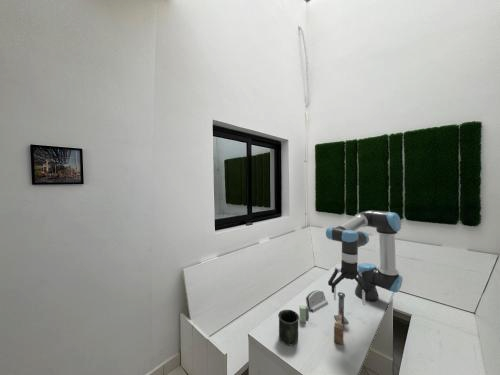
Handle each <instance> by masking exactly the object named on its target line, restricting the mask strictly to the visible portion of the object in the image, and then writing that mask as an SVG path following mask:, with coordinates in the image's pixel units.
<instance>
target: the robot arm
mask: <svg viewBox="0 0 500 375" xmlns="http://www.w3.org/2000/svg"><path fill="white" fill-rule="evenodd" d="M366 227H370V228H375V229H376V232H377V233H378V235H379V236H378V237H379V238H378V240H379V262H380V265H379V267H378V268H377V265H375V264H374V263H367V262H363V263H358V261H359V259H358V256H359V255H358V254H359V252H358V251H359V248H360V247H364V246H366V245H367V244H368V243H369V241H370V237H369V235H368V234H367V233H366V232H365V231H361V230H359V229H361V228H366ZM401 229H402V221H401V217H400V215H399V214H398V213H397V212H393V211H392V212H391V211H383V210H373V209H371V210H365V211H361V212H359V213H357V214H355V215H354V216H353V217H352V218H351V219H348V220H347V221H345V222H343V223H341V224H340V225H337V226H336V227H333V226H329V227H327V228H326V230H325V236H326V238H327V239H328V240H330V241H331V240H332V241H335V242H339V243H341V266H340V267H341V268H338V267H334V272H332V275H331V276H330V277H329V280H328V281H327V283H328V286H330V287H331V294H332V293H333V300H334V301H337V298H336V297H337V296H336V295H337V291H336V290H337V288H336V286H337V285H338V284H339V283H340V282H341V281H343V280H344V279H346V280H351V281H353V280H355V281H356V283H357V284H356V286H355V288H354V294H355V296H356V297H358V298H359V299H361V304H362V305H363V306H366V302H377V301H379V292H378V290H377V287H378V288H382V289H384V290H387V291H389V292H391V293H392V292H393V293H396V294H397V293H398V292H399V291H400V290H401V287H402V285H403V276H402V275H400V273H399V270H398V269H397V267H396V265H397V263H396V238H395V237H396V235H398V232H399V231H401ZM339 273H340V275H339V276H338V277H337V275H338V274H339ZM336 277H337V278H336Z"/></svg>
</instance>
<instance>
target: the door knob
mask: <svg viewBox="0 0 500 375" xmlns="http://www.w3.org/2000/svg"><path fill="white" fill-rule="evenodd" d="M337 297H338V311H337V313H338V314H335V315H333V318H334V320H335V321H336V323H338V318H339V312H342V324H343V325H344V324H346V325H347V324H349V322H350V321H349V320H348V318H346V317H345V298H346V294H345V293H344V292H340V291H339V292H337Z"/></svg>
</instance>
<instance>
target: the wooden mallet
mask: <svg viewBox="0 0 500 375" xmlns="http://www.w3.org/2000/svg"><path fill="white" fill-rule="evenodd" d="M333 326H334V327H333V333H334V334H333V343H336V344H339V345H342V346H343V344H344V324H342V312H339V318H338V322H337V321H336V322H334V324H333Z"/></svg>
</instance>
